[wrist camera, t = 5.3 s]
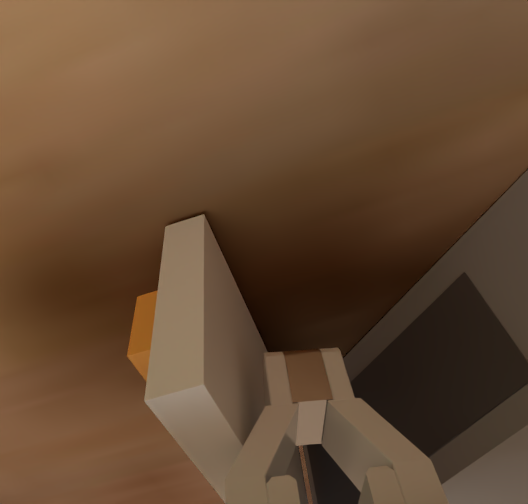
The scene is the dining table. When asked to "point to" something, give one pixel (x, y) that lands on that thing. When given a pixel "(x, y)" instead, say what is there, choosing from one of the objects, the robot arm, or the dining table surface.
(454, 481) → the camera case
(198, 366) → the side door
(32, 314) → the dining table surface
